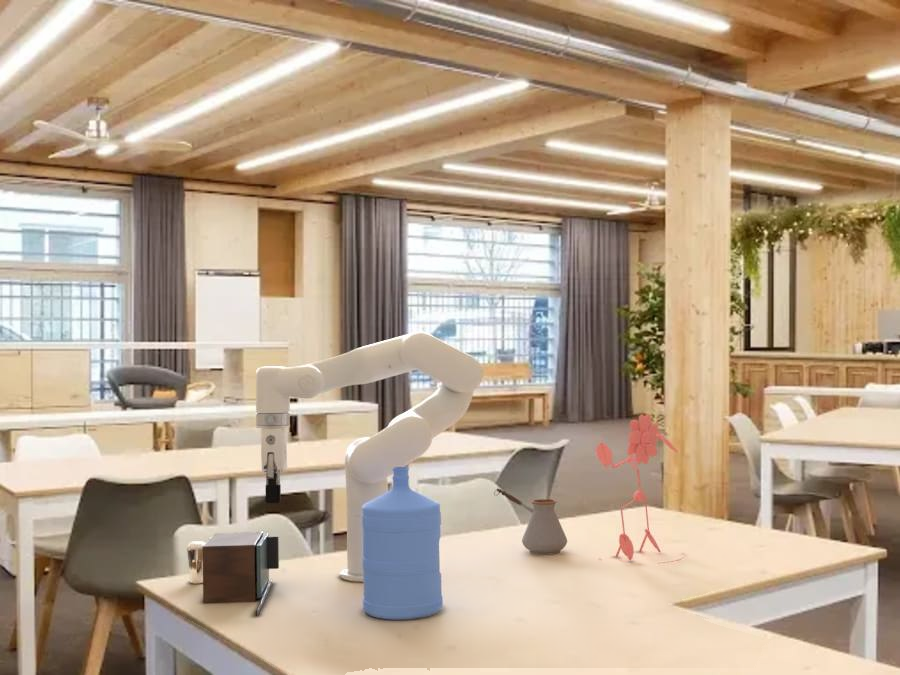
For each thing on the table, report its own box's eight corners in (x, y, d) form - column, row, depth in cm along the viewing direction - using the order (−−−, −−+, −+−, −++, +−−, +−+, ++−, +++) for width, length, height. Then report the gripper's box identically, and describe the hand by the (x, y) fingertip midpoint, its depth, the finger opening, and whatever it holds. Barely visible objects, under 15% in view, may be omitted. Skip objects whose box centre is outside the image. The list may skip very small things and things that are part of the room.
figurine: (590, 561, 237) (587, 416, 238) (657, 547, 254) (653, 410, 255) (641, 571, 225) (637, 418, 226) (707, 555, 242) (704, 412, 243)
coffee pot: (576, 550, 251) (575, 491, 251) (550, 558, 242) (548, 496, 243) (510, 541, 265) (509, 485, 265) (482, 548, 256) (481, 490, 257)
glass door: (280, 580, 220) (279, 532, 220) (272, 597, 204) (272, 545, 205) (265, 581, 220) (264, 532, 220) (257, 598, 204) (256, 545, 204)
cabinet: (272, 583, 220) (271, 531, 220) (257, 616, 192) (256, 556, 192) (215, 585, 219) (214, 533, 219) (192, 618, 191) (191, 558, 191)
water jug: (413, 625, 183) (411, 474, 184) (346, 614, 192) (344, 470, 192) (457, 606, 197) (455, 465, 197) (393, 597, 205) (391, 462, 206)
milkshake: (206, 584, 220) (205, 539, 220) (183, 584, 221) (183, 539, 221) (214, 580, 224) (214, 536, 225) (193, 579, 225) (192, 535, 226)
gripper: (286, 422, 216) (287, 507, 215) (292, 418, 231) (292, 497, 230) (252, 423, 215) (252, 507, 215) (260, 419, 230) (260, 498, 230)
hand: (273, 502), depth 222 cm, fingers closed
